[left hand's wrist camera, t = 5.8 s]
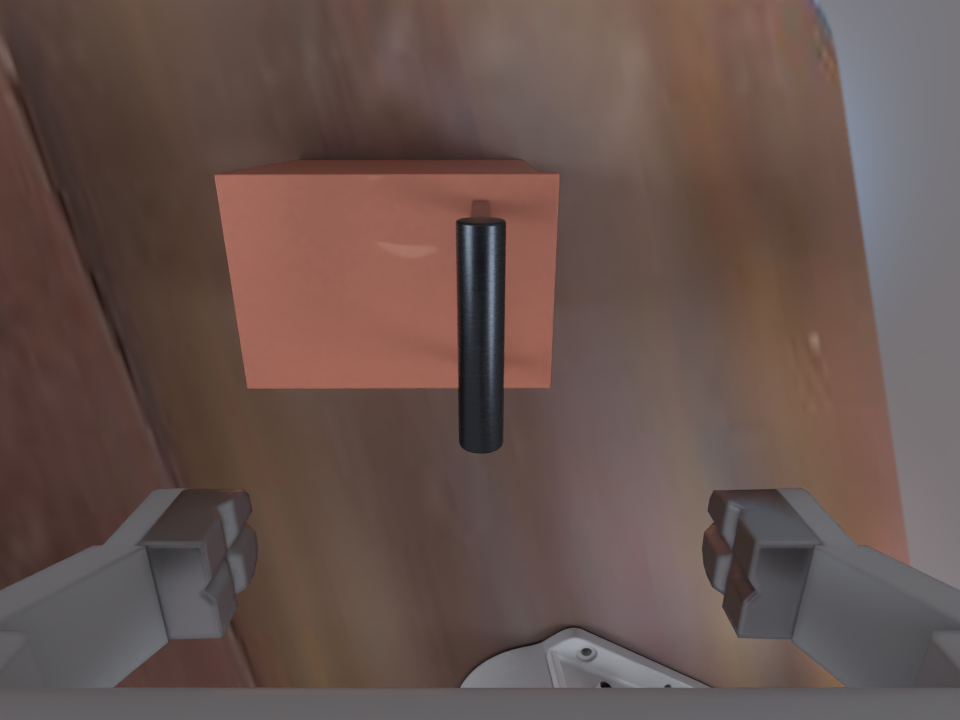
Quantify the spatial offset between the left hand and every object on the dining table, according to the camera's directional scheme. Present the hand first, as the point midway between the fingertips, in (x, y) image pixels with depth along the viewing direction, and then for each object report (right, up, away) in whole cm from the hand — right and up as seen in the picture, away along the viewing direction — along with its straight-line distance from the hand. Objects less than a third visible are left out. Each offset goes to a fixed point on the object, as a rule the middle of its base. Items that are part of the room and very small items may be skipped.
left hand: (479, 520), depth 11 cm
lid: (-4, +6, +16) cm, 18 cm away
